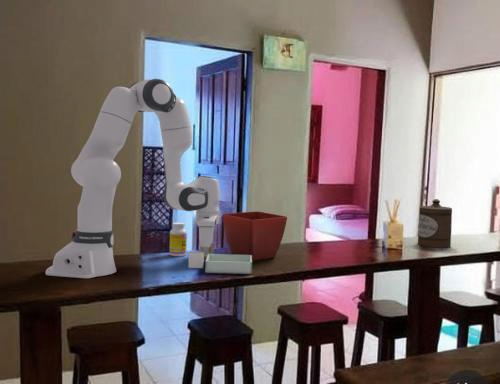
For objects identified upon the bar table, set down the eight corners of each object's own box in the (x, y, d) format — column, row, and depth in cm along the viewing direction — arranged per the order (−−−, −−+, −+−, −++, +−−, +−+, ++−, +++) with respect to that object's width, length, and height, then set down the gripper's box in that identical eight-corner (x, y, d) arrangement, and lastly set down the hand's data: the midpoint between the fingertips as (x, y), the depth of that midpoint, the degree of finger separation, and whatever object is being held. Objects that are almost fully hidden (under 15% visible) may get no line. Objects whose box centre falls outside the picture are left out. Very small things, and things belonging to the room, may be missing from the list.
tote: (205, 272, 181) (205, 261, 181) (207, 264, 194) (208, 253, 194) (251, 274, 182) (252, 262, 181) (251, 265, 195) (251, 255, 194)
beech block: (199, 261, 199) (199, 245, 199) (200, 258, 204) (201, 243, 204) (212, 262, 199) (213, 246, 199) (213, 259, 204) (213, 243, 204)
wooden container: (411, 242, 257) (413, 197, 255) (437, 242, 261) (439, 197, 260) (430, 248, 243) (433, 200, 241) (457, 247, 247) (460, 200, 245)
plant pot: (250, 264, 198) (251, 219, 196) (219, 255, 212) (220, 213, 211) (287, 258, 210) (288, 216, 208) (256, 250, 225) (257, 211, 223)
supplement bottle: (183, 257, 206) (183, 224, 205) (167, 256, 207) (167, 223, 206) (188, 254, 212) (189, 222, 211) (172, 253, 214) (173, 221, 213)
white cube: (188, 268, 188) (188, 254, 188) (189, 264, 193) (190, 251, 193) (202, 268, 188) (202, 254, 188) (203, 265, 193) (203, 251, 193)
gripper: (201, 215, 211) (200, 249, 212) (196, 222, 191) (196, 259, 192) (217, 215, 211) (216, 249, 212) (214, 222, 191) (213, 260, 192)
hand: (206, 254), depth 202 cm, fingers open, 5 cm apart
